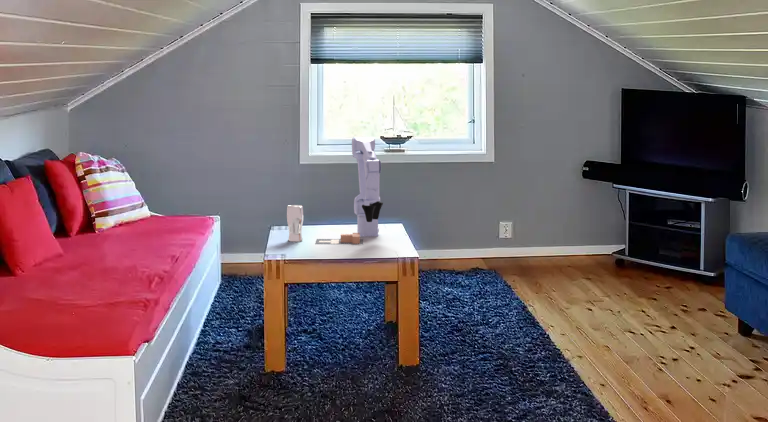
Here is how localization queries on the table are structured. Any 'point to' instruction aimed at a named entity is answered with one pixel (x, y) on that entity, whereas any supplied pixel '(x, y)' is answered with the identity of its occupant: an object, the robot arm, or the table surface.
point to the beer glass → (295, 222)
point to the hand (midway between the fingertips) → (372, 220)
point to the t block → (351, 238)
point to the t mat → (333, 241)
